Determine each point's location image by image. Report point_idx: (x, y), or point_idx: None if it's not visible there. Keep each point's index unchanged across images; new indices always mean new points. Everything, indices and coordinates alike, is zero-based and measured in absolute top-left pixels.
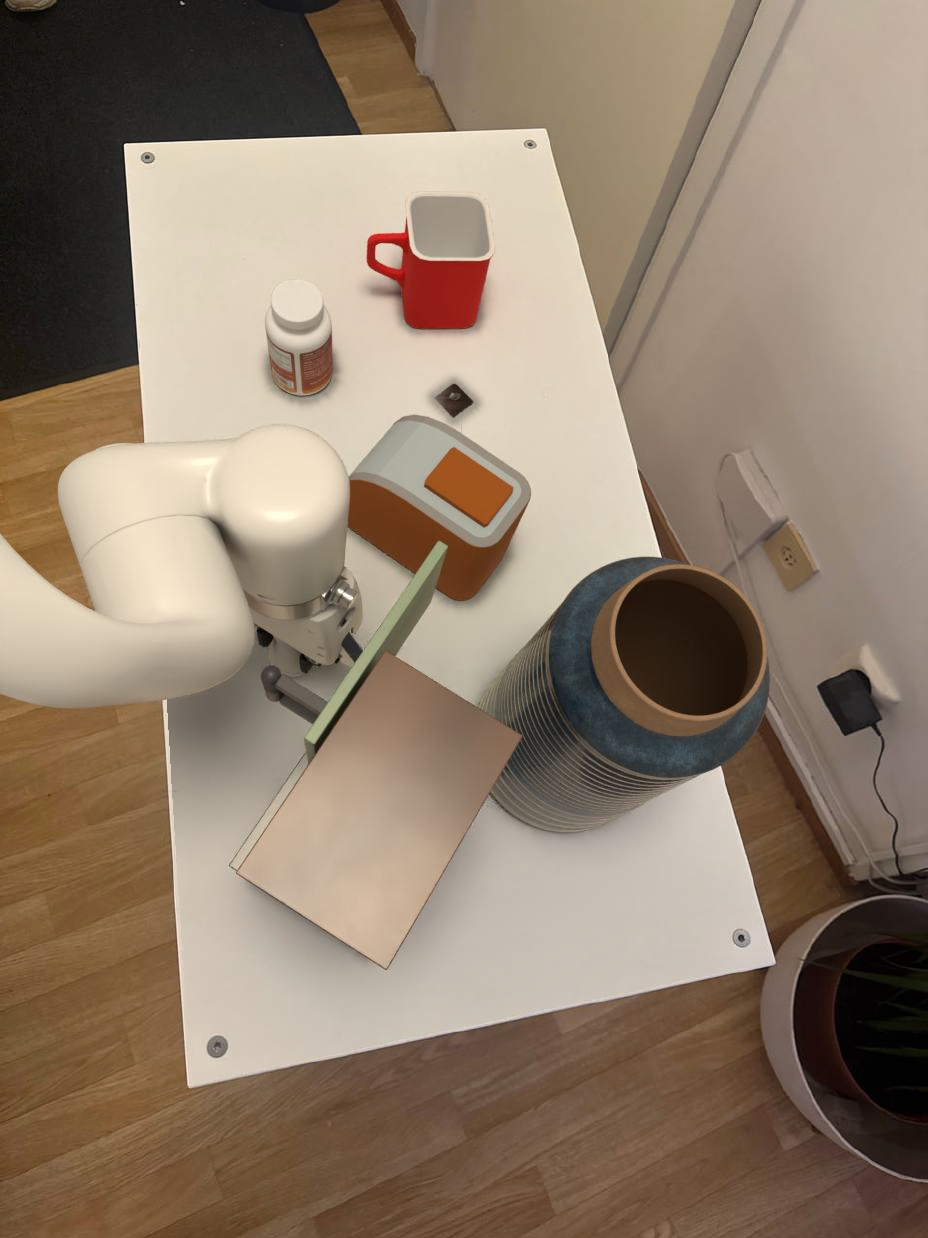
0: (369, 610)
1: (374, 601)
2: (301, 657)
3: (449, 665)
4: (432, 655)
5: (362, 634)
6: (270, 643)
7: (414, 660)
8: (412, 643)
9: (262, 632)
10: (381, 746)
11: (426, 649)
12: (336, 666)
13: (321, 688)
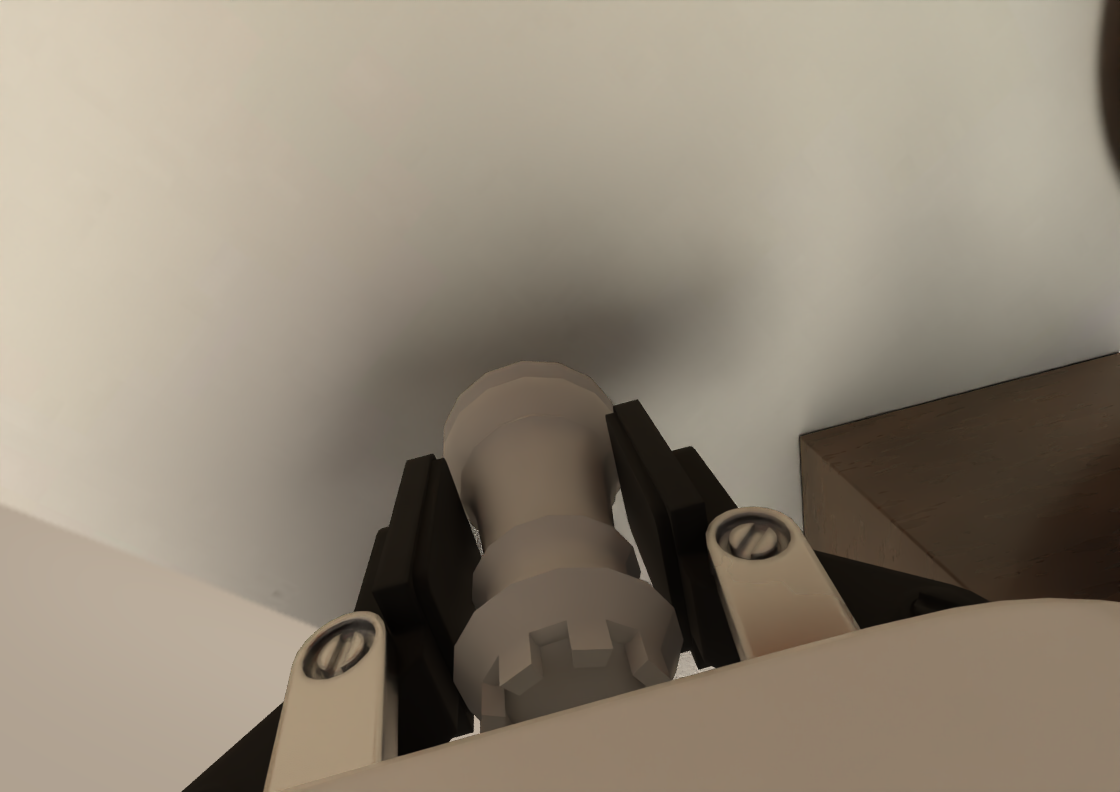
0: (569, 79)
1: (555, 30)
2: (699, 665)
3: (940, 8)
4: (867, 29)
5: (617, 176)
6: (468, 518)
7: (822, 102)
8: (779, 53)
9: (470, 725)
10: None
11: (835, 28)
12: (631, 323)
13: (645, 399)
